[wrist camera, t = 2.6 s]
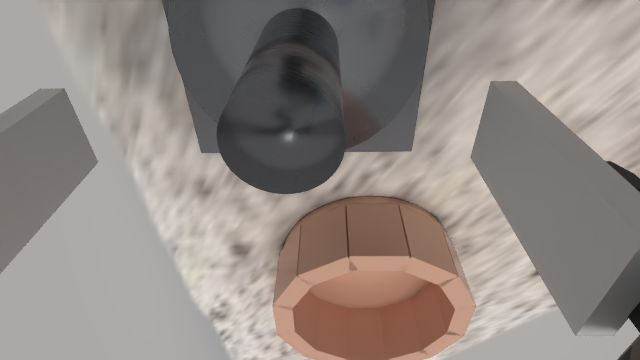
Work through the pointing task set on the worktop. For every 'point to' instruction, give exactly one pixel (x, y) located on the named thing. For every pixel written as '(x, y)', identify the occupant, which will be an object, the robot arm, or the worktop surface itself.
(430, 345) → the bowl
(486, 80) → the worktop surface
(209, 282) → the worktop surface
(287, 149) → the lid
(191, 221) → the worktop surface
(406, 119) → the mat
